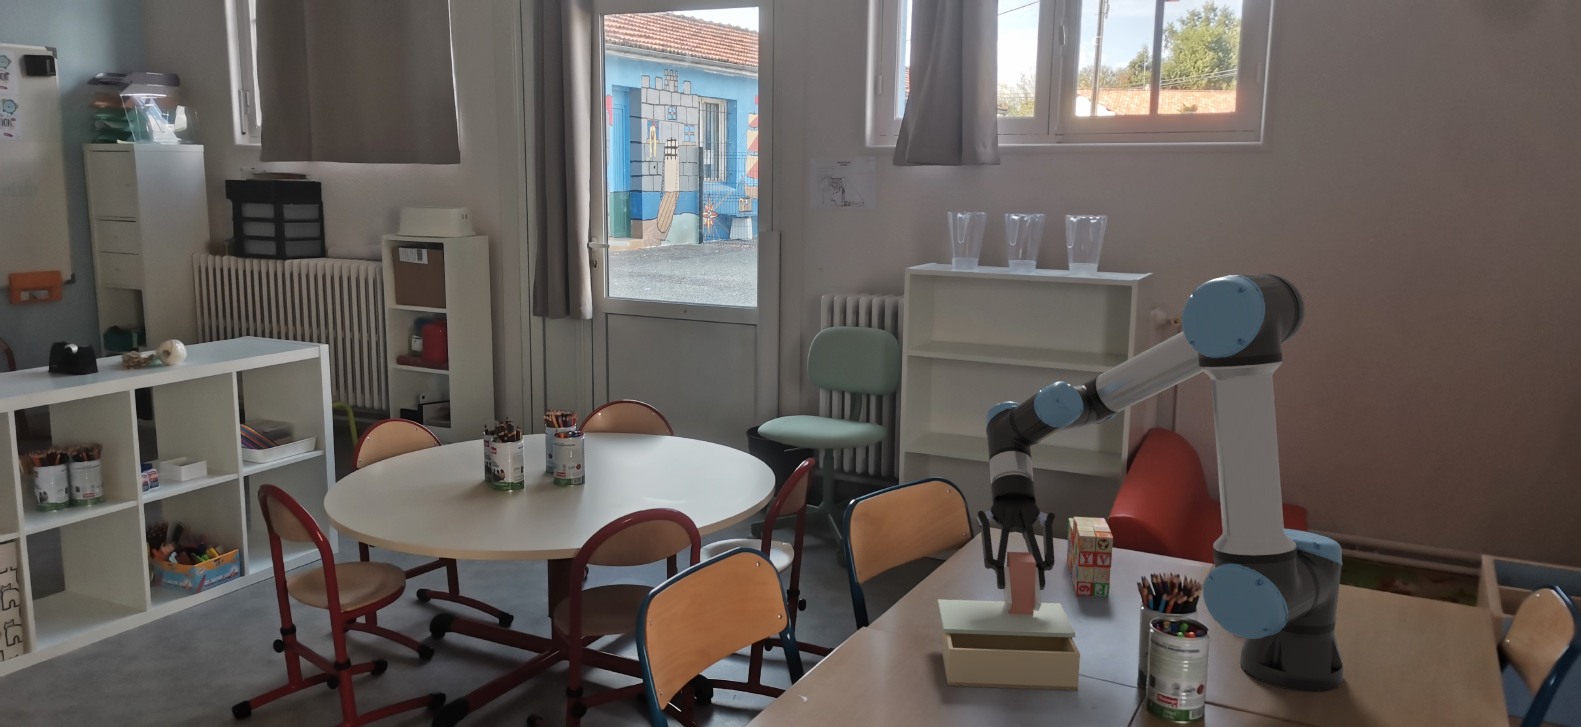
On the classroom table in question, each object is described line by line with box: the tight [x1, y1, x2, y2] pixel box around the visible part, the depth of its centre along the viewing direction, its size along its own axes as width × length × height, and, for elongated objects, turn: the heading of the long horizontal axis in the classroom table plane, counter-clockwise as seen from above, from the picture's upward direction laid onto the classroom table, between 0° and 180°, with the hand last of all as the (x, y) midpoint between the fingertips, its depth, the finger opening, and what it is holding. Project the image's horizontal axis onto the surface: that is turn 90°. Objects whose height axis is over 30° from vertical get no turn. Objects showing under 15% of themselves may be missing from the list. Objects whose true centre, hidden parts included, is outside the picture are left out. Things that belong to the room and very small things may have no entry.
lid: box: [937, 551, 1076, 639], centre depth 179 cm, size 21×13×10 cm, turn 87°
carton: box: [941, 631, 1081, 691], centre depth 174 cm, size 20×12×6 cm, turn 87°
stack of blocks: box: [1066, 516, 1114, 599], centre depth 217 cm, size 21×6×12 cm, turn 171°
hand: (1023, 606), depth 178 cm, fingers closed on lid, 4 cm apart
